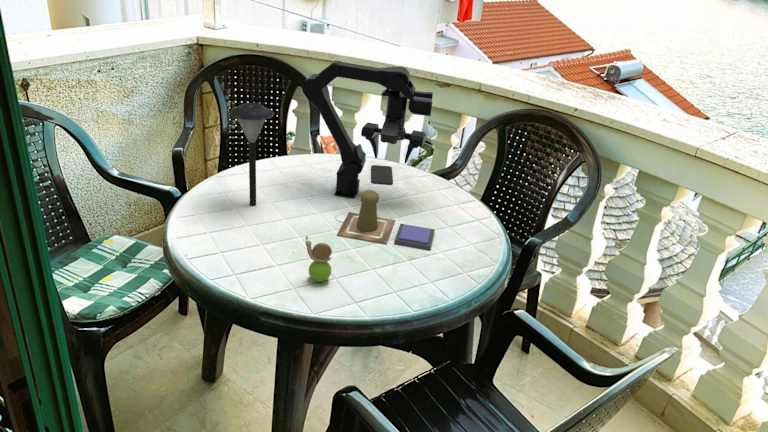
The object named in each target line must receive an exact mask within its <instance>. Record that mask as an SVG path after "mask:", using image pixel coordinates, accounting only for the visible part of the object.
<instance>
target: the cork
mask: <svg viewBox="0 0 768 432" xmlns="http://www.w3.org/2000/svg"><path fill="white" fill-rule="evenodd" d="M359 198H360V202H361V205H360V210H359V213H358V214H359V217H358V221H357V228H358V229H359V230H361V231H364V232H373V231H375V230H377V228H378V227H377V217H378V209H377V204H378V203H379V201H380V195H379V193H378V192H377V191H376V190H372V189H371V190H370V189H367V190H363V191H362V192H361V194H360V197H359Z"/></svg>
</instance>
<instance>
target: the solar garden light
mask: <svg viewBox="0 0 768 432" xmlns="http://www.w3.org/2000/svg"><path fill="white" fill-rule="evenodd" d="M228 115H230V117H233V118H235V119H237V121H238V123H239V125H240V127H241V130H242V131H243V133H244V135H245V137H246V139H247V142H248V170H249V171H248V173H249V174H248V175H249V178H248V179H249V206H251V207H256V205H257V171H256V170H257V167H256V166H257V165H256V163H257V162H256V161H257V156H256V155H257V154H256V151H257V150H256V149H257V148H256V147H257V145H256V142H257V139H258V138H259V135H260V133H261V130H262V128H263V127H264V124H265V121H266V120H268V119H271V118H272V117H274V116H275V112H274V111H273V110H272V109H270V108H268V107H266V106H264V105H262V104H260V103H255V102H254V103H253V102H247V103H241V104H240V105H237V106H235V107H233V108H231V109H230V110H229V111H228Z"/></svg>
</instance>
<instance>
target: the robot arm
mask: <svg viewBox="0 0 768 432" xmlns="http://www.w3.org/2000/svg"><path fill="white" fill-rule="evenodd" d="M336 78H344V79H350V80H354V81H361V82H367V83H374V84H378V85H379V86H382V87H384V88H385V89H383V90H382V92H381V94H380V95H381V97H387V103H386V112H385V118H384V122H383V125H382V128H380V126H379V124H378V123H374V122H373V123H372V122H366V123H365V124H364V125H363V126H362V129H361V132H360V135H361V137H365V140H368V141H369V143H370V146H371V148H372V151H373V155H374V158H375V159H377V158H378V156H379V141H380V142H381V143H383V144H384V143H385V144H386V143H387V144H391V145H396V144H397V142H398V141H399V142H400V141H404V140H406V141H408V142H409V143H408V145H407V150H406V153H405V156H404V157H405V158H404V164H405V165H406V164H407V162H408V160H409V158H410V156H411V154H412V152H413V150H414V149H418V148H419V147H423V145H424V143H426V137H427V133H426V132H425V131H419V130H412V132H411V133H409V132H406V128H405V123H406V114H407V113H406V112H407V109H408V111H409V113H411V115H417V116H425V117H431V116H432V108H433V95H434V92H432V91H420V90H419V91H418V90H416V87H415V85H414V84H413V82H412V81H411V73H410V71H409V70H408V69H407V68H406V67H405V66H404V67H403V66H386V67H375V66H369V65H363V64H358V63H357V64H356V63H350V62H344V61H342V60H341V61H340V60H334V61H332V62H331V63H330V65H328V66H327V67H325V68H324V69H323V70H321V71H320V72H318V73H313V74H310V75H309V76H308V77H307V78H306V79H305V81H303V83H302V86H301V90H302V92H303V95H304V96H305V98H306V99H307V100H308V102H309V103H310V104H312V105H313V106H314V107H315V108H316V109H317V110H318V112H319V114H320V116H321V118H322V119H323V121H324V123H325V125H326V127H327V129H328V131H329V132H330V135H331V136H332V138H333V140H334V142H335V144H336V145H337V148H338V149H339V153H340V158H341V159H340V160H341V164H340V166H339V168H338V170H337V172H336V182H335V183H336V186H335V192H334V196H337V197H338V196H339V197H345V198H350V199H355V198H356V196H357V195H358V194H359V191H360V183H361V182H360V181H361V180H360V179H359V175H360V174H361V173H362V171H363V168H364V166H365V164H366V155H367V153H365V151H364V150H363V148H362V144H360V143H359V144H357V145H356V144H355V143H354V142H353V141H352V139H351V136H349V133H348V132H347V130H346V128H345V126H344V124H343V122H342V120H341V119H340V116H339V114H338V112H337V111H336V108H335V106H334V104H333V103H332V101H331V95H330V91H329V87H328V85H329V84H330V83H331V82H332V81H334V80H335V79H336ZM407 105H408V107H407ZM379 139H380V140H379Z"/></svg>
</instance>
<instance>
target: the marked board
mask: <svg viewBox="0 0 768 432" xmlns="http://www.w3.org/2000/svg"><path fill="white" fill-rule="evenodd" d="M358 217H359V213H357V212H351V211H350V212H348V213H347V215H346V217H345V219H344V221H343V222H342V225H341V226H340V228H339V229H338V231H337V233H336V236H337V237H343V238H349V239H354V240H358V241H365V242H370V243H375V244H382V245H387V244H388V241H389V239H390V236H391V234H392V230H393V228H394V225H395V222H396V219H392V218H387V217H380V216H377V227H378V228H377V230H375V231H373V232H364V231H361V230H359V229H358V228H357V221H358Z"/></svg>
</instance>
